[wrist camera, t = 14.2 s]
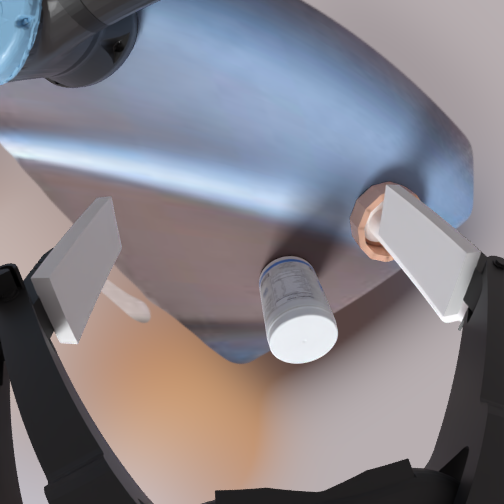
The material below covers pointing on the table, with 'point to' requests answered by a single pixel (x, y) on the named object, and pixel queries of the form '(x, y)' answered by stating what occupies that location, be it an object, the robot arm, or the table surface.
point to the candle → (372, 235)
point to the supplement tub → (296, 311)
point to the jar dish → (361, 215)
